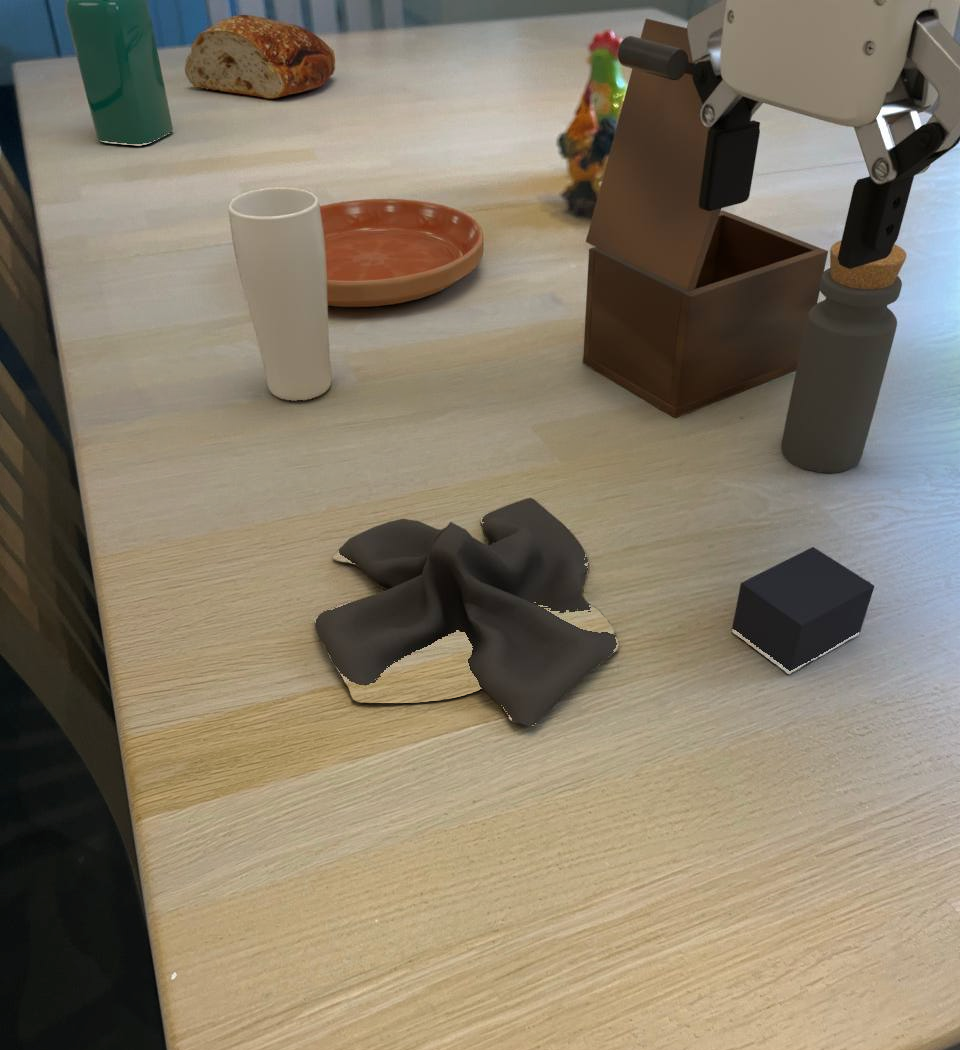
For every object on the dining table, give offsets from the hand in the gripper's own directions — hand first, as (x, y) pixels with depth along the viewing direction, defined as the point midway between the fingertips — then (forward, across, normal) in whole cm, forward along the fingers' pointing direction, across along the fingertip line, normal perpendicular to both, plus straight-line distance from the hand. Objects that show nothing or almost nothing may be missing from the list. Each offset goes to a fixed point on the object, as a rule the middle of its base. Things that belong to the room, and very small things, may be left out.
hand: (789, 231), depth 52 cm
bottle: (+21, +6, -15) cm, 26 cm away
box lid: (+3, +21, -12) cm, 25 cm away
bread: (+21, +131, -28) cm, 135 cm away
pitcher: (+21, +116, -1) cm, 118 cm away
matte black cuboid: (+21, -8, +2) cm, 22 cm away
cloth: (+21, +6, +16) cm, 27 cm away
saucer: (+21, +55, -4) cm, 59 cm away
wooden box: (+21, +22, -16) cm, 34 cm away
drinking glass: (+21, +37, +13) cm, 44 cm away
